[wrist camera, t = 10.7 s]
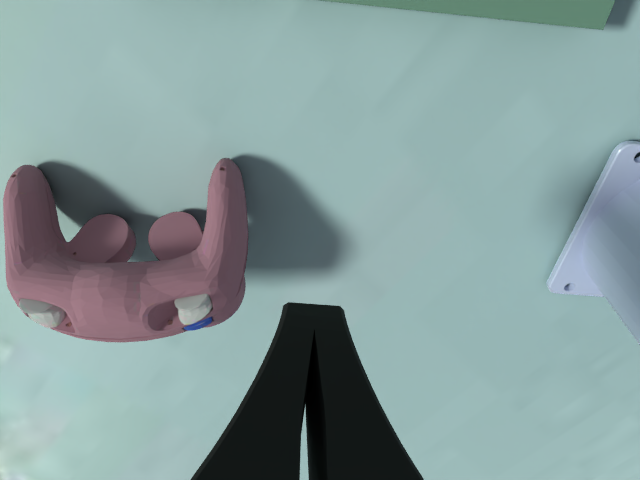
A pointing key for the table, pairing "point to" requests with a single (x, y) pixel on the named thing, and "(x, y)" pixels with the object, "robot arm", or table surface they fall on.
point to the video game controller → (126, 264)
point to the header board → (511, 9)
